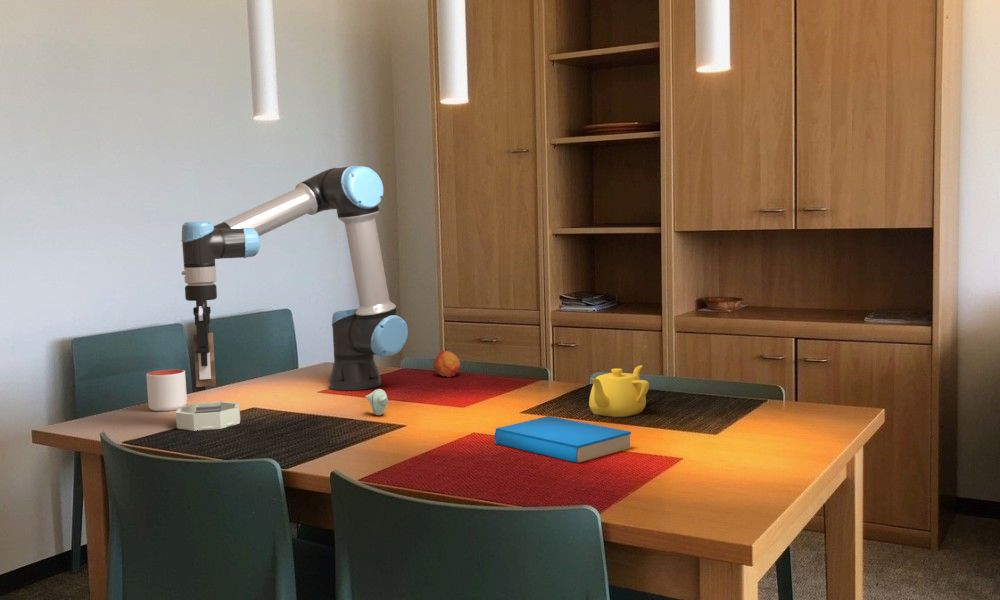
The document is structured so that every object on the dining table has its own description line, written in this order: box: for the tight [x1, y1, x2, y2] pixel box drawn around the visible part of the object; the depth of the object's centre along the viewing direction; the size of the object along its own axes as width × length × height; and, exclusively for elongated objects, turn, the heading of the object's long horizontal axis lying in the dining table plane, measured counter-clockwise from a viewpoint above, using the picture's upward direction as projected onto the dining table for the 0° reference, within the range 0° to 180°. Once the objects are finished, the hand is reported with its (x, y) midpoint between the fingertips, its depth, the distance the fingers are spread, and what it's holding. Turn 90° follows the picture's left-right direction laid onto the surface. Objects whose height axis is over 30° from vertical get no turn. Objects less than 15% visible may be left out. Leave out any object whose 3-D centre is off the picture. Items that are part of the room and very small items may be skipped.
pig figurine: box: [365, 388, 389, 416], centre depth 251 cm, size 8×4×7 cm, turn 43°
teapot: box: [588, 365, 650, 418], centre depth 244 cm, size 22×16×11 cm
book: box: [493, 415, 632, 464], centre depth 213 cm, size 17×4×25 cm
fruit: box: [433, 350, 461, 378], centre depth 305 cm, size 8×8×8 cm
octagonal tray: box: [175, 400, 241, 432], centre depth 248 cm, size 15×15×4 cm
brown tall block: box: [193, 332, 217, 388], centre depth 246 cm, size 4×2×13 cm, turn 103°
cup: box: [146, 368, 188, 412], centre depth 269 cm, size 10×10×10 cm
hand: (205, 377), depth 247 cm, fingers closed on brown tall block, 2 cm apart
